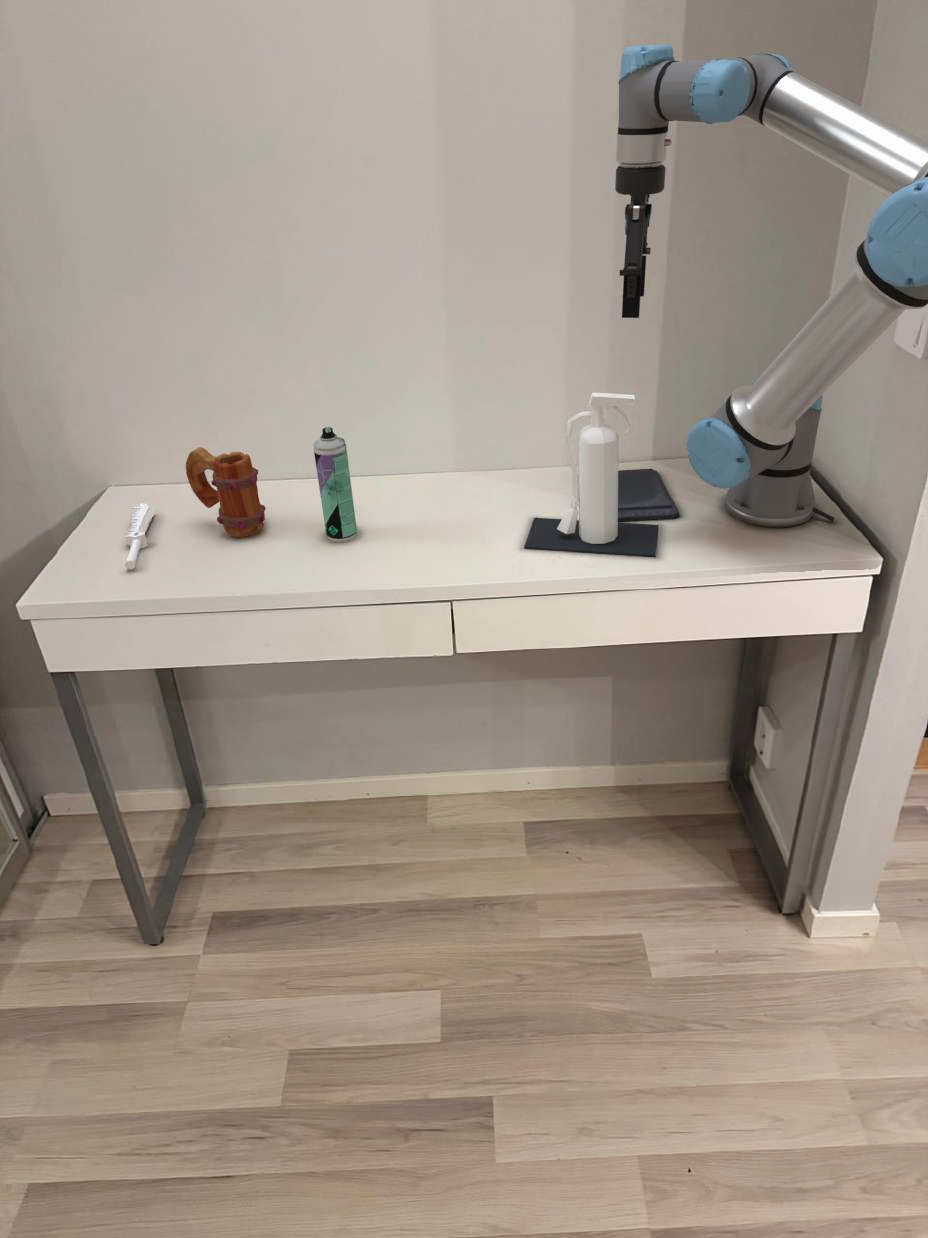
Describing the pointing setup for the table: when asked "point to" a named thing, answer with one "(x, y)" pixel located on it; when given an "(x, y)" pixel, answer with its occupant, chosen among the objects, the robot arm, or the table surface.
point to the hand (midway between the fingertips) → (633, 306)
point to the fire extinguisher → (596, 471)
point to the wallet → (643, 496)
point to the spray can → (335, 486)
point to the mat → (627, 542)
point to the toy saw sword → (138, 532)
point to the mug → (228, 489)
